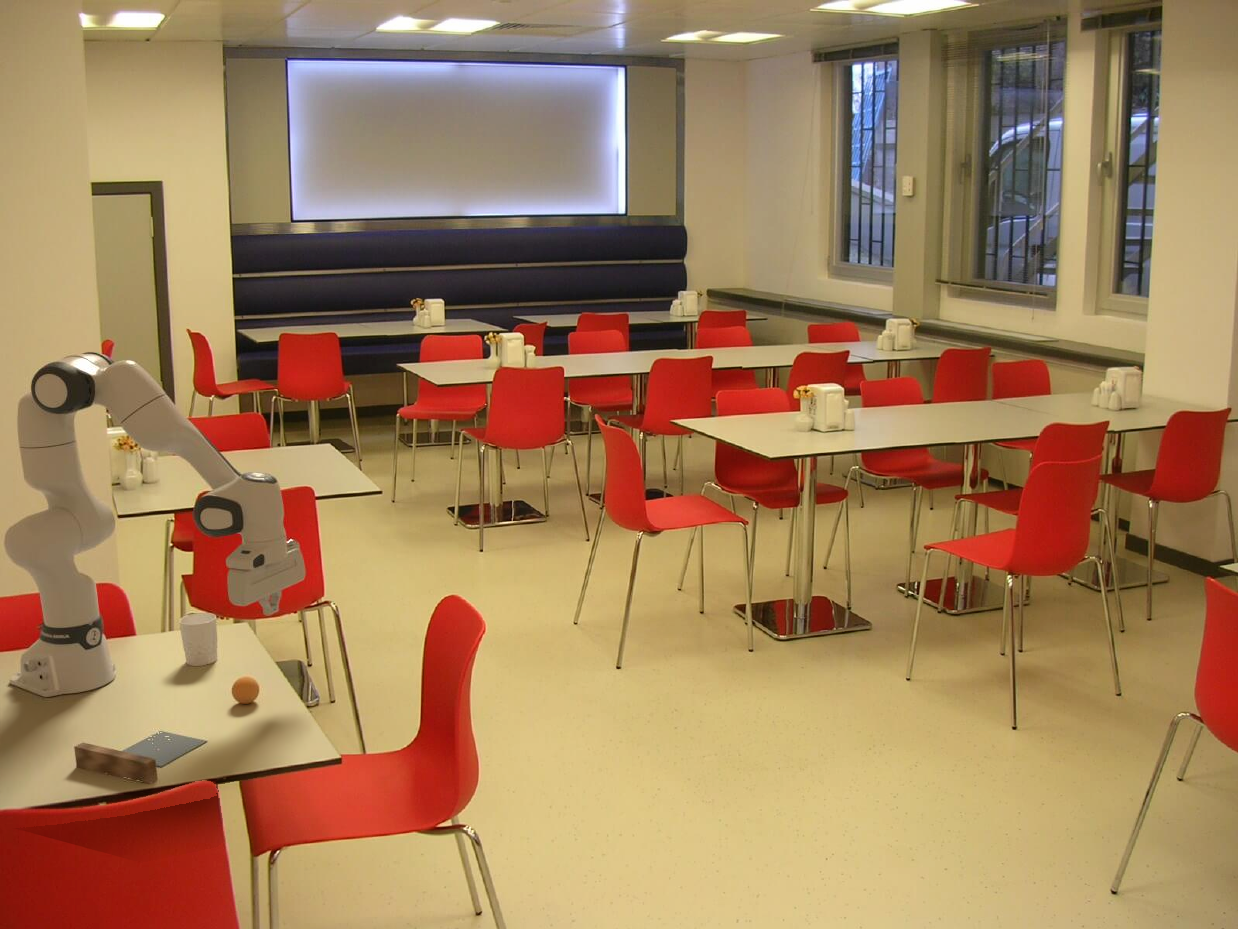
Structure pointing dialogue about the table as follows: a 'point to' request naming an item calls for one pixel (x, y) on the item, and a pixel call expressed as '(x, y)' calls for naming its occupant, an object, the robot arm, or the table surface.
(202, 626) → the white cup
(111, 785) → the table surface
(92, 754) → the stopper wall
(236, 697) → the ball
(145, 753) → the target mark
